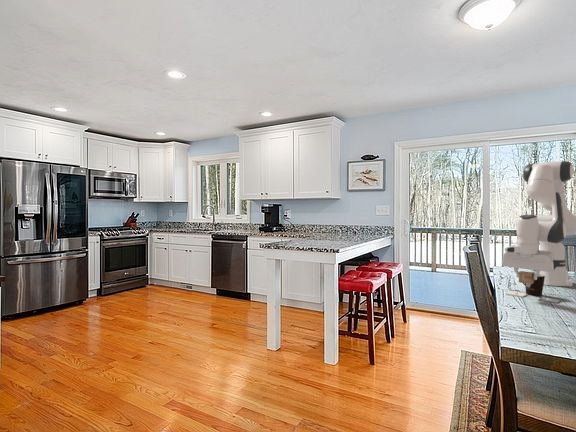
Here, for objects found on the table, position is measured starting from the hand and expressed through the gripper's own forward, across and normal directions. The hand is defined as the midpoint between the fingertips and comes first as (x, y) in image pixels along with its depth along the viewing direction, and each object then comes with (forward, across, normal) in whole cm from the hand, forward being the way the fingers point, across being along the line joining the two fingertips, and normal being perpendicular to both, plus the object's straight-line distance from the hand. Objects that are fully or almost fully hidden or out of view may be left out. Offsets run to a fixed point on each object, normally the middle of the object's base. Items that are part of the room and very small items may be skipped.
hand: (526, 278), depth 168 cm
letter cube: (+2, 0, 0) cm, 2 cm away
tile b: (+10, +6, -5) cm, 12 cm away
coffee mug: (+10, +1, -14) cm, 17 cm away
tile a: (+10, -8, -5) cm, 14 cm away
